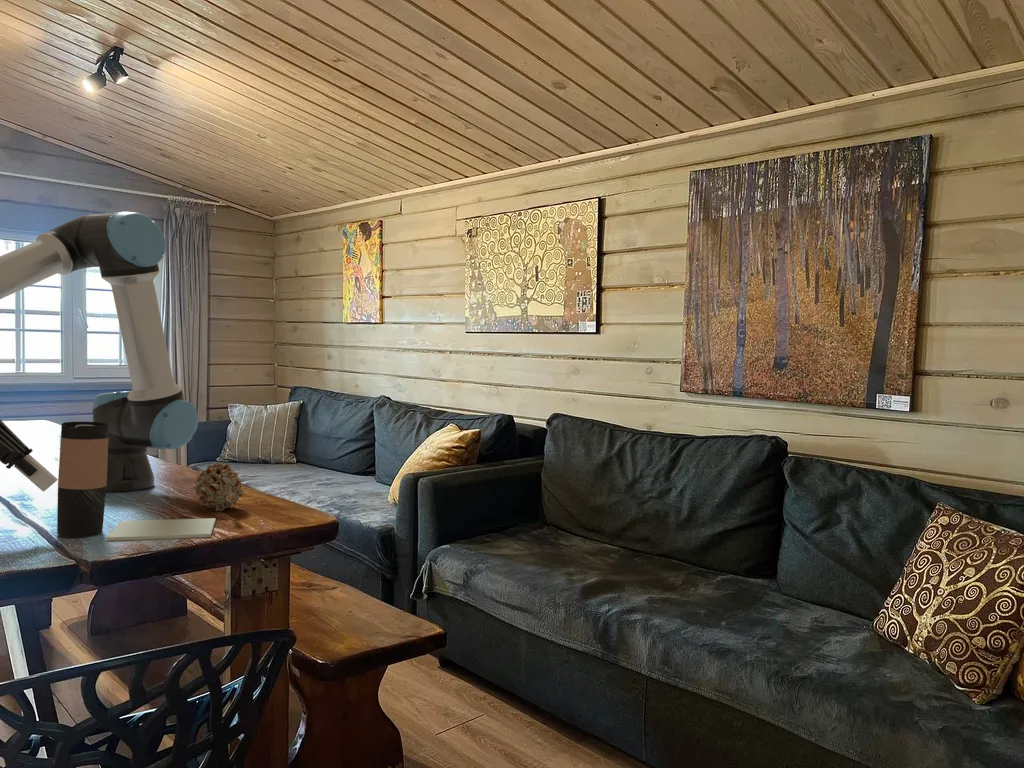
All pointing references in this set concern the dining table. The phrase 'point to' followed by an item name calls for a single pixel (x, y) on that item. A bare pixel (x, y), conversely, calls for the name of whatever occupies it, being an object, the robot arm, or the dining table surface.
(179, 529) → the mug mat
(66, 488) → the travel mug
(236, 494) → the pine cone
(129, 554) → the dining table surface
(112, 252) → the robot arm
